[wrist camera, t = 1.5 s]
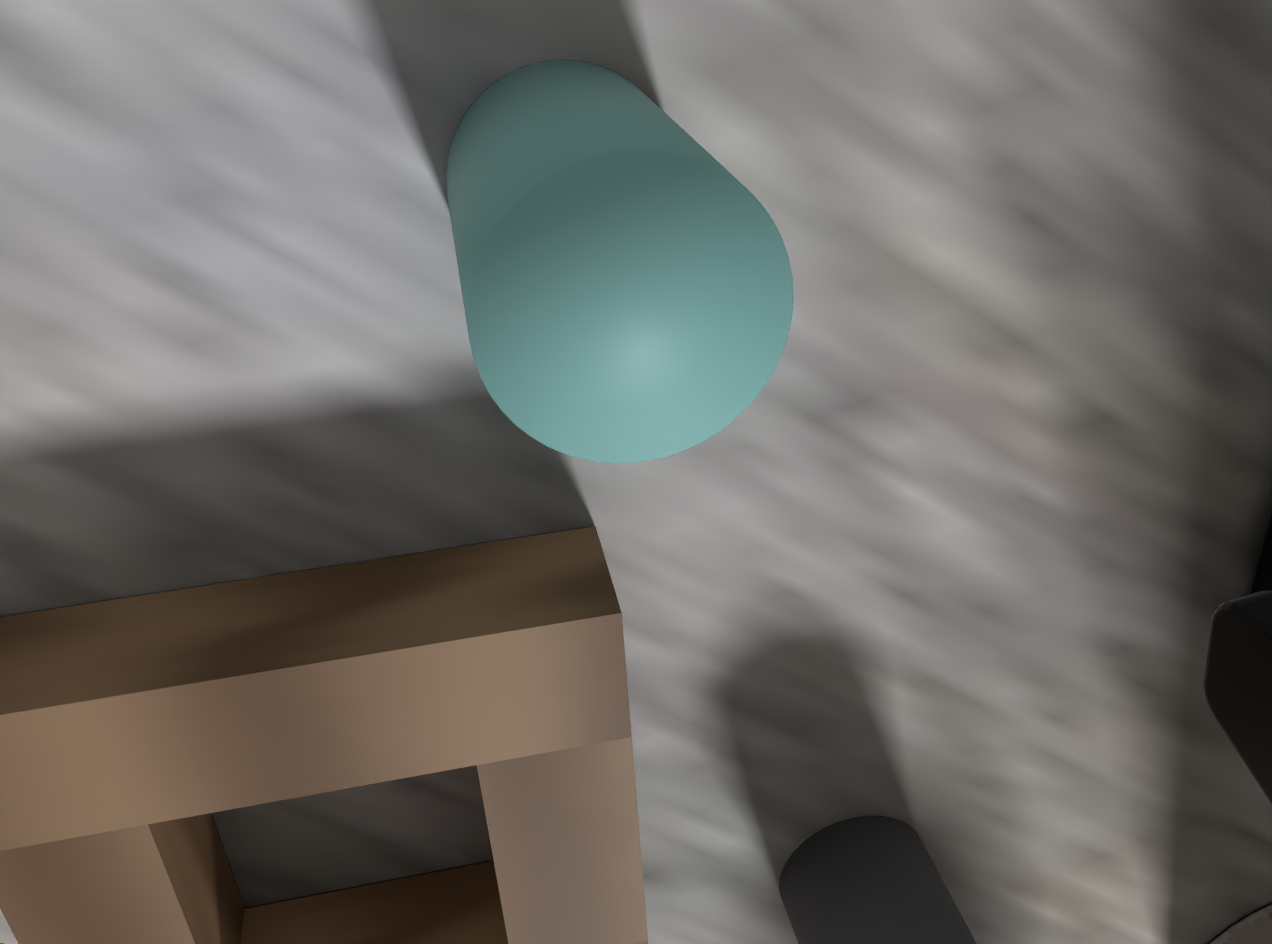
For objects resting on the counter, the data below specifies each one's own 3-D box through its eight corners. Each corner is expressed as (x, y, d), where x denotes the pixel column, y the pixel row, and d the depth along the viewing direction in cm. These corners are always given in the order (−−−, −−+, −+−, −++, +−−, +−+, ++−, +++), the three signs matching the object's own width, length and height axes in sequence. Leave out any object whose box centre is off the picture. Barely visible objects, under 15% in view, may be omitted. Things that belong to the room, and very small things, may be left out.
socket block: (595, 526, 22) (621, 613, 20) (630, 917, 28) (654, 1023, 26) (-32, 621, 21) (-92, 730, 18) (147, 1015, 27) (120, 1139, 24)
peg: (672, 48, 18) (795, 132, 12) (681, 279, 20) (791, 440, 14) (429, 72, 18) (443, 168, 12) (463, 306, 19) (490, 483, 14)
